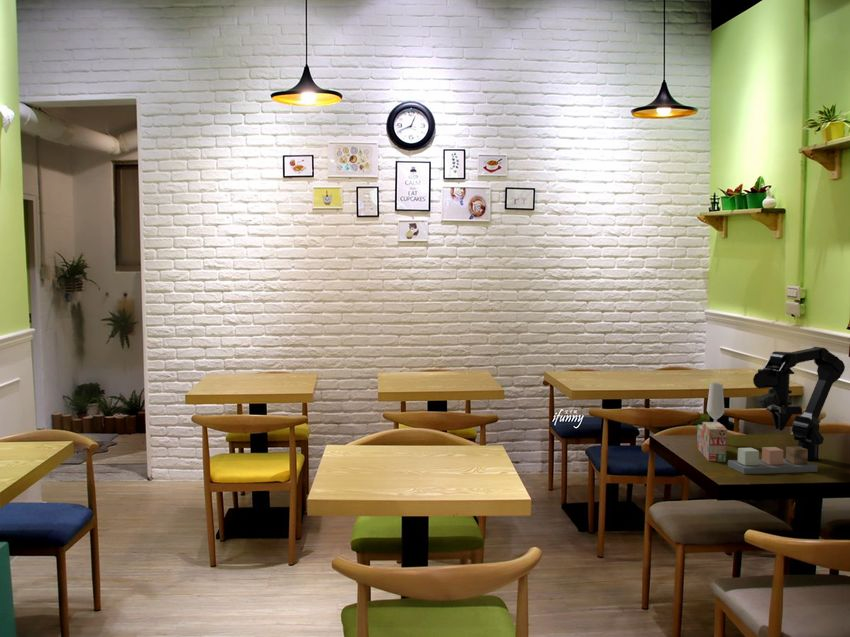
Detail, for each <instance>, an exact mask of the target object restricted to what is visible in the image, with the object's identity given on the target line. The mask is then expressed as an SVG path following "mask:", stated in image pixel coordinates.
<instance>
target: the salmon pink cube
mask: <svg viewBox="0 0 850 637" xmlns="http://www.w3.org/2000/svg"><path fill="white" fill-rule="evenodd" d="M761 459H762V462H764V463H767V464H769V465H781V464H783V459H784V450H783V449H782V448H779V447H777V446H766V447H764V446H763V447H761Z"/></svg>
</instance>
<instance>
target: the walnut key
mask: <svg viewBox="0 0 850 637" xmlns="http://www.w3.org/2000/svg"><path fill="white" fill-rule="evenodd" d="M785 459H786V461H788V462H790V463H792V464H807V462H808V460H807V459H808V449H805V448H802V447H800V446H797V445H795V446H786V447H785Z"/></svg>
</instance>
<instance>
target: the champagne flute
mask: <svg viewBox="0 0 850 637" xmlns="http://www.w3.org/2000/svg"><path fill="white" fill-rule="evenodd" d="M723 385H724V384H723V383H722V382H710V383H709V388H708V389H709V390H708V396H707V397H708V398H707V406H706V412H707V413H708V415H709V416H710V418H712V419H713V422H718V420H719V419H720V418H721V417H722V416H723V415H724V414H725V412H726V411H725V399H724V398H725V396H724V386H723Z"/></svg>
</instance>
